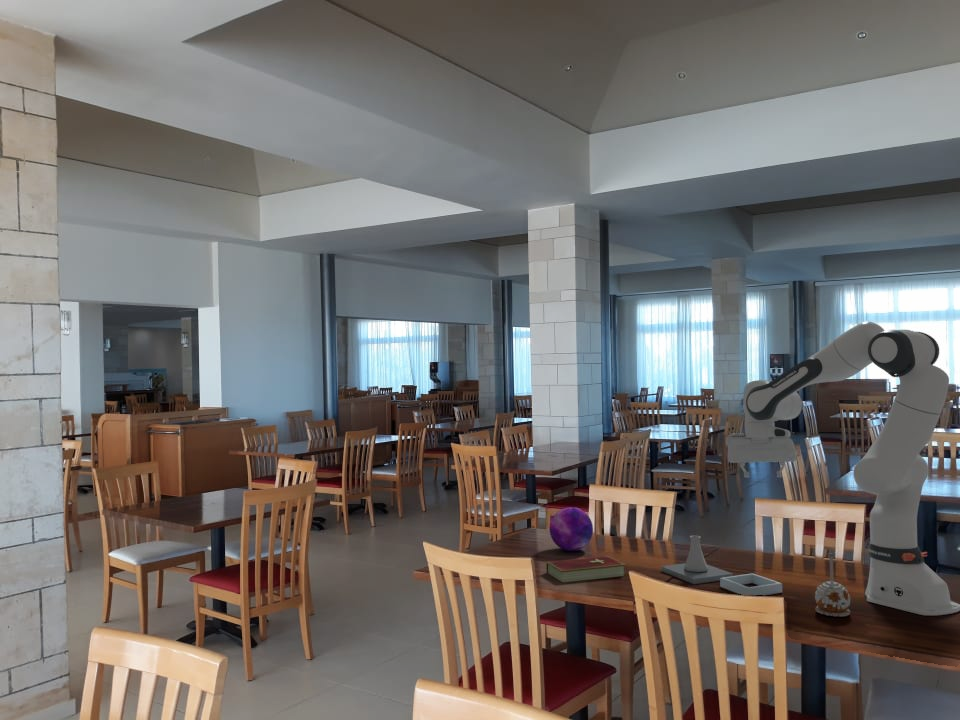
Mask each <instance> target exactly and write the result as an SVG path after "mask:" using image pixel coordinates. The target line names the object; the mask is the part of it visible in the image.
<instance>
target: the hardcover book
mask: <svg viewBox="0 0 960 720" xmlns="http://www.w3.org/2000/svg"><path fill="white" fill-rule="evenodd" d="M625 566H627V565H626V564H625V563H624V562H622V561H619V560H618V559H615V558H614V557H611V556H608V555H603V556H594V557H582V558H574V559H563V560H554V561H553V560H552V561H546V566H545V568H546V574H549V575H550V576H552V577H554V578H555V579H557V580H558V581H560V582H561V583H568V582H569V583H571V582H579V581H590V580H596V579H597V580H599V579H607V578H616V577H617V578H618V577H624V576H625Z"/></svg>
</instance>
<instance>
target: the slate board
mask: <svg viewBox="0 0 960 720" xmlns="http://www.w3.org/2000/svg"><path fill="white" fill-rule="evenodd" d="M685 564H686V562H685V563H678V564H677V563H675V564H668V565H662V566H661V569H660V571H661V572H662V573H665V574H668V575H670V576H672V577H675V578H677V579H680V580H683V581H685V582H687V583H689V584H692V585H696V584H697V585H699V584H705V583H712V582H720V578H723V577H730V576H734V573H732V572H729V571H727V570H724V569H720V568H719V567H716V566H713V565H710V564H707V567H708V571H705V572H692V571H687V570H685V569H684V567H685Z"/></svg>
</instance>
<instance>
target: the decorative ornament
mask: <svg viewBox="0 0 960 720" xmlns="http://www.w3.org/2000/svg"><path fill="white" fill-rule="evenodd" d="M834 580H835V579H834V553H829V581H825V582H821V584H819V585H818V586H817V587H816V590H815V592H814V601H815V604H816V605H817V606H815V608H814V609H815V612H817V613H819V614H821V615H825V616H828V617H829V616H831V617H834V618H835V617H839V618H840V617H848V616H849V615H851V610H850V609H849V606H850V605H851V595H850V594H849V591H848V590H847V589H846V587H845V586H844V584H841V583H839V582H836V581H834Z"/></svg>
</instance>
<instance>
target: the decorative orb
mask: <svg viewBox="0 0 960 720" xmlns="http://www.w3.org/2000/svg"><path fill="white" fill-rule="evenodd" d="M593 533H594V527H593V522H592V519H591V517H590V516H589V514H587V513H586V512H585V511H584V510H583V509H580V508H578V507H574V506H567V507H563V508H561V509H559V510H558V511H557V512H556V513H555V514H554V515H553V516H552V517H551V520H550V523H549V534H550V538H551V539H552V541H553V543H554V544H555V545H556V546H557V547H558V548H560V549H561V550H563V551H567V552H576V551H577V552H578V551H580V550H582V549H584V548H585V547H586V546H587V545H589V543H590V542H591V540H592V537H593Z"/></svg>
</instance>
